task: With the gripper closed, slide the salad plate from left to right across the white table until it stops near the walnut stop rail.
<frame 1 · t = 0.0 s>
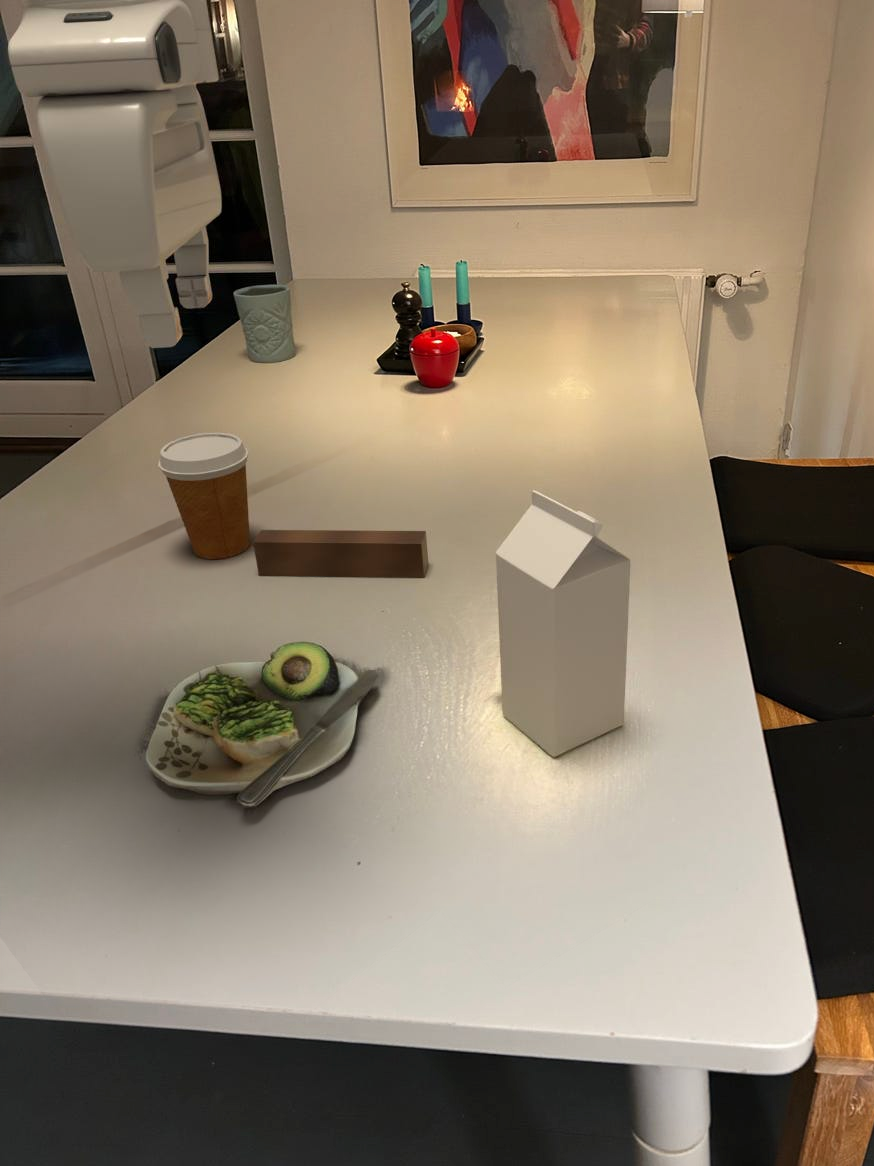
hand: (182, 323, 56), 34 cm above the table, tool pointing down, fingers open, 8 cm apart
disposable coffee cup: (222, 548, 108), on the table
salad plate: (266, 729, 78), on the table
milk carton: (562, 723, 77), on the table
drinking glass: (272, 357, 177), on the table
stop rail: (343, 570, 102), on the table
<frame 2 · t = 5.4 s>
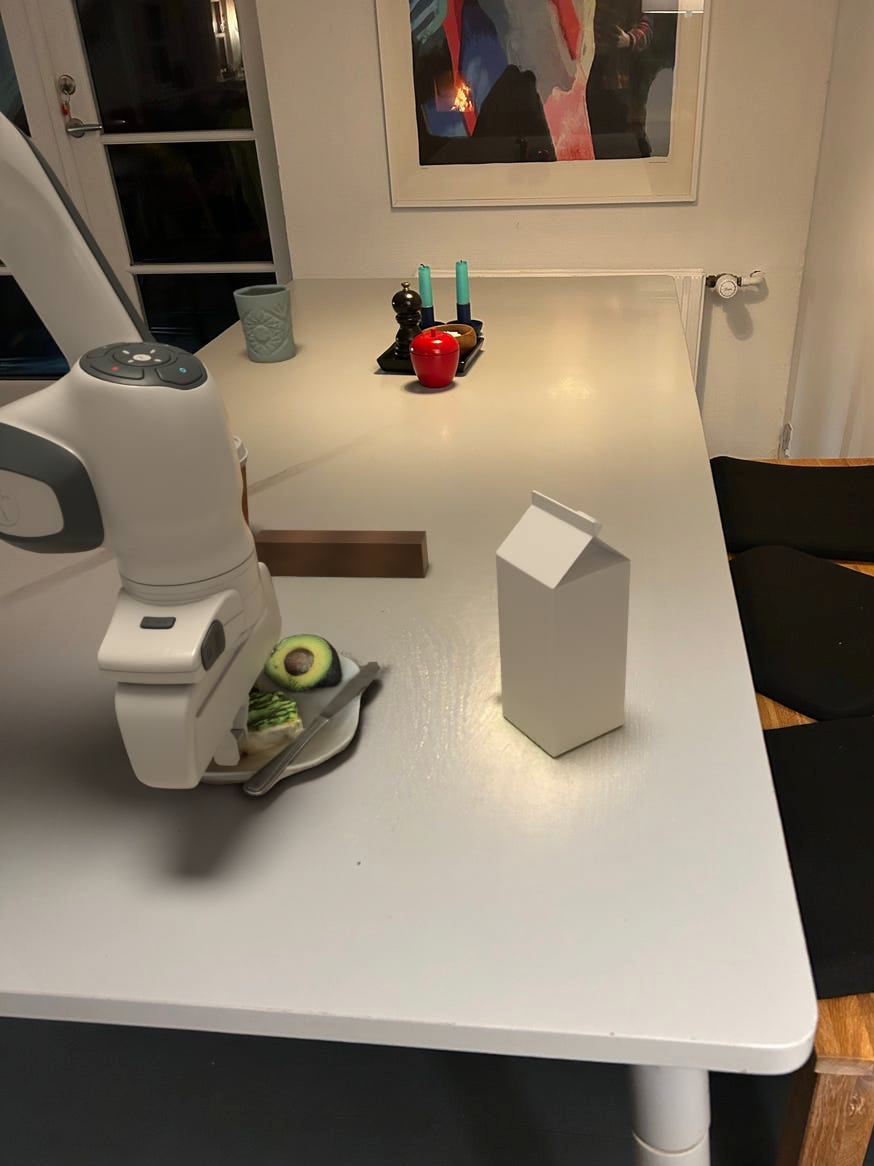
hand: (233, 754, 71), 3 cm above the table, tool pointing down, fingers closed
salad plate: (270, 720, 79), on the table, touching gripper
everything else where it was.
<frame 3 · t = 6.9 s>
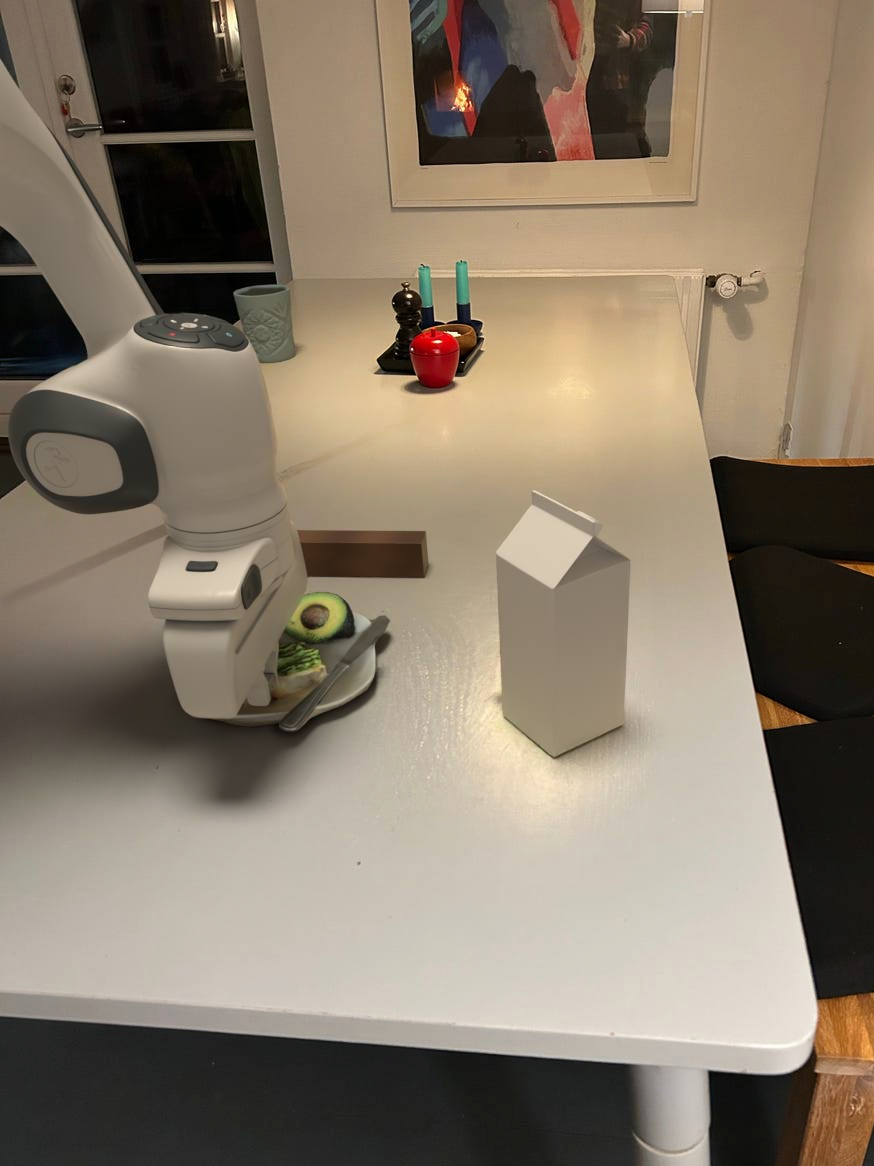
hand: (264, 696, 77), 3 cm above the table, tool pointing down, fingers closed
salad plate: (291, 671, 86), on the table, touching gripper
everything else where it was.
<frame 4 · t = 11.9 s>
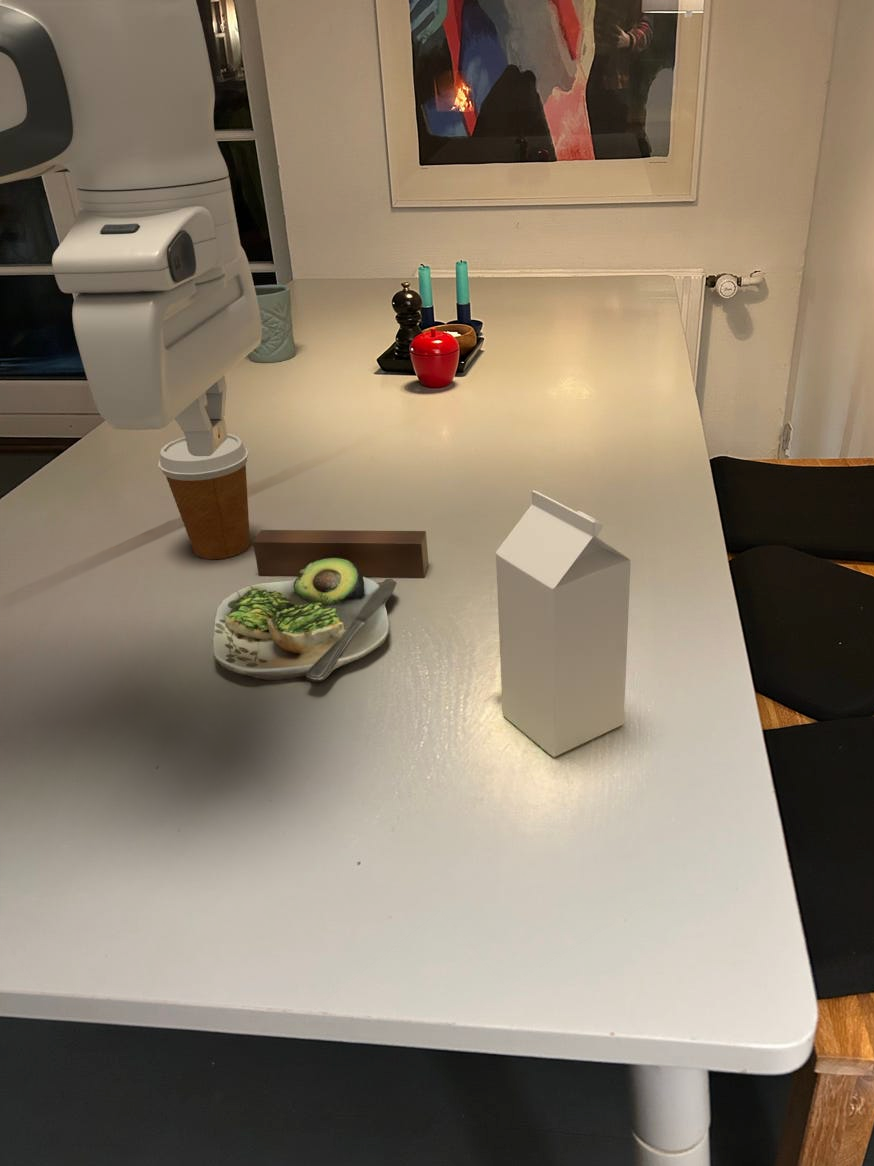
hand: (209, 448, 65), 24 cm above the table, tool pointing down, fingers closed
salad plate: (307, 631, 91), on the table
everything else where it was.
at the end: salad plate moved 15.5 cm from its start; salad plate 12.5 cm from the stop rail (horizontally); salad plate tilted 0° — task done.
